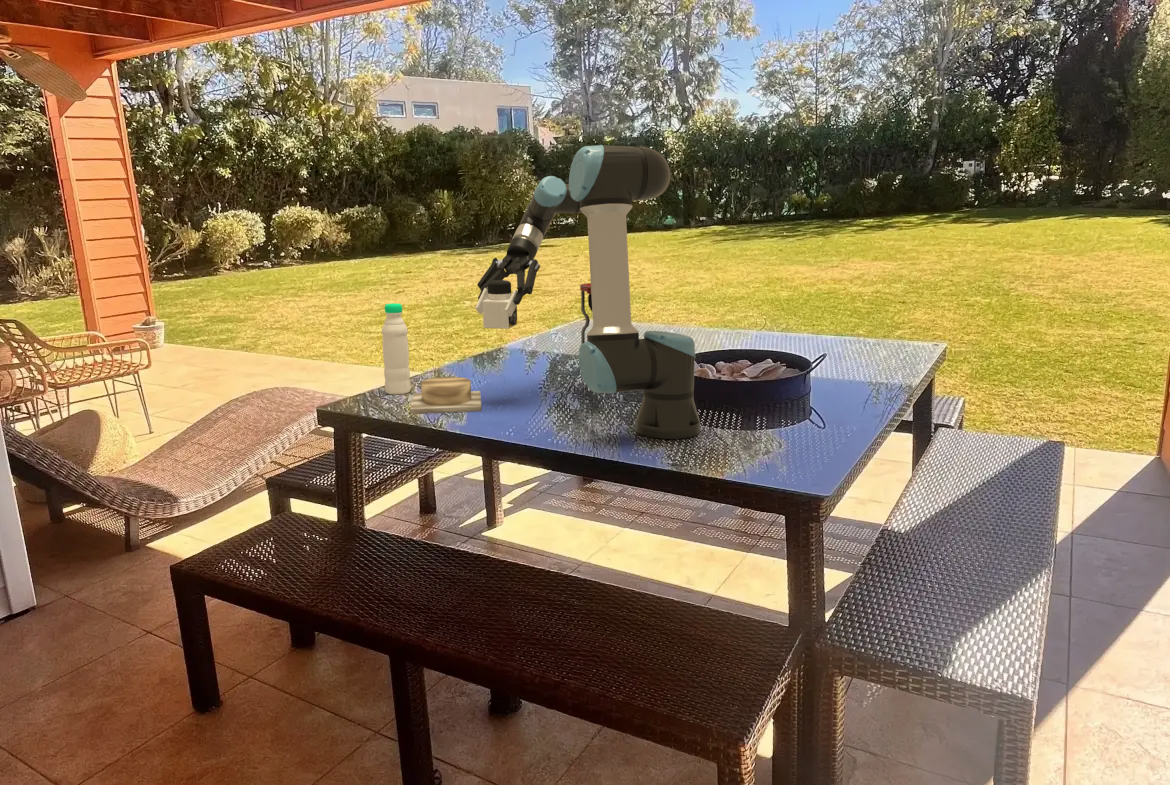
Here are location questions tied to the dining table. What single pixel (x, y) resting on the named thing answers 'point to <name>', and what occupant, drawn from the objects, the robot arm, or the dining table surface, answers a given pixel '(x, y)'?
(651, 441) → the dining table surface
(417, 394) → the post stand
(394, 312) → the water bottle
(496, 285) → the medicine bottle
